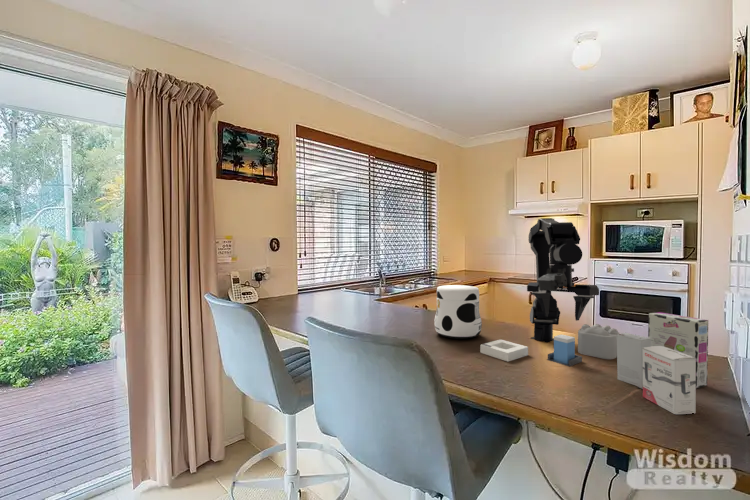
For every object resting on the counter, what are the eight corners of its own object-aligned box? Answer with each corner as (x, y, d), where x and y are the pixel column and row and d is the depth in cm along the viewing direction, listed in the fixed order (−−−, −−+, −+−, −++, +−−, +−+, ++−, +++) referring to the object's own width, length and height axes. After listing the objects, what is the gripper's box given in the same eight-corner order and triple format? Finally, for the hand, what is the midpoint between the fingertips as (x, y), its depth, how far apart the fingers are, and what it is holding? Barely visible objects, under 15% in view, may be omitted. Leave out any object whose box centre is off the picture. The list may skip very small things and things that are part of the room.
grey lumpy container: (574, 354, 112) (574, 327, 112) (586, 345, 121) (587, 320, 121) (613, 362, 105) (613, 333, 104) (623, 352, 114) (624, 325, 113)
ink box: (640, 397, 82) (641, 345, 82) (660, 396, 83) (661, 345, 82) (674, 415, 74) (676, 358, 73) (697, 414, 74) (698, 357, 74)
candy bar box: (708, 386, 88) (710, 319, 87) (696, 389, 86) (698, 321, 85) (658, 370, 98) (659, 311, 98) (646, 373, 96) (647, 312, 96)
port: (500, 348, 119) (500, 338, 119) (528, 356, 110) (528, 346, 110) (480, 354, 113) (480, 344, 113) (507, 363, 105) (507, 352, 105)
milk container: (429, 330, 142) (429, 285, 141) (471, 328, 144) (471, 284, 143) (442, 343, 125) (441, 292, 124) (489, 341, 127) (489, 290, 126)
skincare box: (652, 386, 88) (653, 337, 87) (642, 390, 86) (643, 340, 85) (625, 377, 93) (626, 331, 93) (615, 381, 91) (616, 334, 91)
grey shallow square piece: (559, 356, 110) (559, 350, 110) (582, 363, 104) (582, 356, 104) (546, 361, 106) (546, 354, 106) (569, 368, 100) (569, 361, 100)
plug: (561, 357, 108) (561, 334, 108) (574, 361, 105) (574, 337, 104) (553, 360, 106) (553, 336, 105) (567, 363, 102) (567, 339, 102)
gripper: (515, 264, 109) (516, 316, 108) (578, 264, 93) (579, 325, 92) (537, 264, 115) (537, 313, 114) (599, 265, 99) (600, 321, 98)
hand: (561, 318), depth 105 cm, fingers open, 9 cm apart
